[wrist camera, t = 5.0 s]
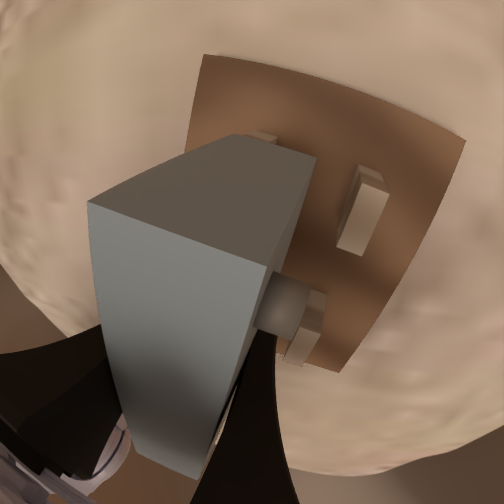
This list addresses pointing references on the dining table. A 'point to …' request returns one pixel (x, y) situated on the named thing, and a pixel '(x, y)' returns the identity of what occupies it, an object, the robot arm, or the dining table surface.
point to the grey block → (195, 285)
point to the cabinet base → (335, 190)
